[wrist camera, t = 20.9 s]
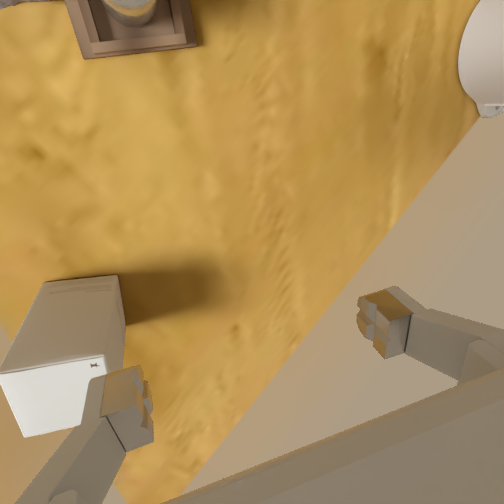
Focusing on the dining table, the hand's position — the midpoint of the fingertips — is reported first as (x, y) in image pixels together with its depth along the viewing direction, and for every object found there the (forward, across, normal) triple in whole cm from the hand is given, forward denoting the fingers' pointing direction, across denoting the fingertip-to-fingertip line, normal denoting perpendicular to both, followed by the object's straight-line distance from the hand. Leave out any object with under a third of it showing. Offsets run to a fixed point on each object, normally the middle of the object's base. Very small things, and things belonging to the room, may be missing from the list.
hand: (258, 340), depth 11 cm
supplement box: (+31, +16, +16) cm, 39 cm away
